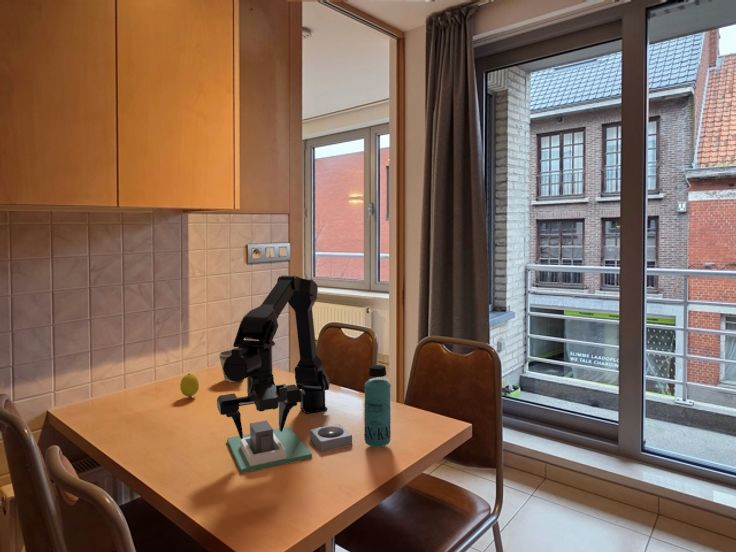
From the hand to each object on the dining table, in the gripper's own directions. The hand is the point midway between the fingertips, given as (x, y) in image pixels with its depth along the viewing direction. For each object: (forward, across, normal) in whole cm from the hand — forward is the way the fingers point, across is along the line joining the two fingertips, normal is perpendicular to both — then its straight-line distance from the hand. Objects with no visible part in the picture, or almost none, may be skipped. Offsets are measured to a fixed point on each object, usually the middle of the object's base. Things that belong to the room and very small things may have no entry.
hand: (261, 434), depth 109 cm
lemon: (+5, -11, +52) cm, 53 cm away
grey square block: (+5, +17, -1) cm, 18 cm away
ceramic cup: (+5, +6, +64) cm, 64 cm away
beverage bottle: (+5, +26, -9) cm, 28 cm away
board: (+5, +2, +2) cm, 6 cm away
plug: (+4, 0, 0) cm, 4 cm away
